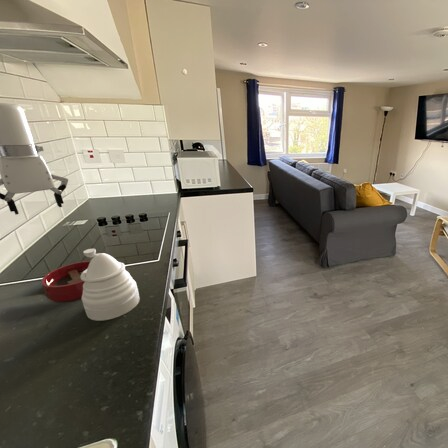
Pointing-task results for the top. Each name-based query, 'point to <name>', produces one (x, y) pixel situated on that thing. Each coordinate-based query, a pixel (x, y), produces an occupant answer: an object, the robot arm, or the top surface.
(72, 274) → the t-shaped block
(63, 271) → the bowl
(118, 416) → the top surface
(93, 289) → the honey pot
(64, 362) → the top surface
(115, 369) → the top surface
